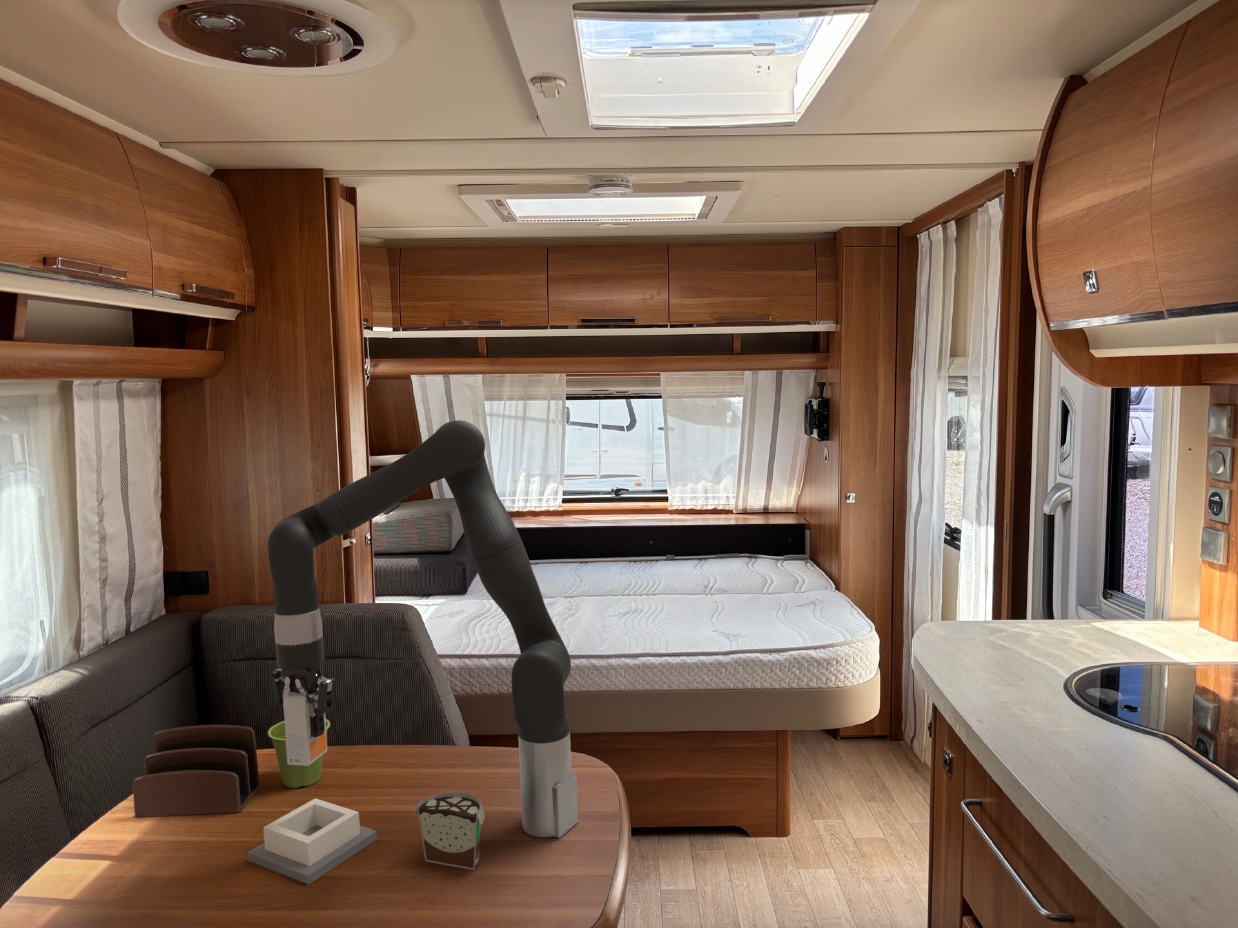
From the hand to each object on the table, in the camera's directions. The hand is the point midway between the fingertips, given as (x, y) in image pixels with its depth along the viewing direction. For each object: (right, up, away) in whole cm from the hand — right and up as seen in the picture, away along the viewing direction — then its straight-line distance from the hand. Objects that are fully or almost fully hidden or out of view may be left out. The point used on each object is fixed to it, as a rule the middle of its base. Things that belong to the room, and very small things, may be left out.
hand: (306, 732), depth 144 cm
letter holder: (-28, -21, +20) cm, 40 cm away
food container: (+26, -21, -1) cm, 34 cm away
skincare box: (0, -5, +1) cm, 5 cm away
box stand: (+1, -21, +2) cm, 21 cm away
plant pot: (-11, -19, +28) cm, 36 cm away
